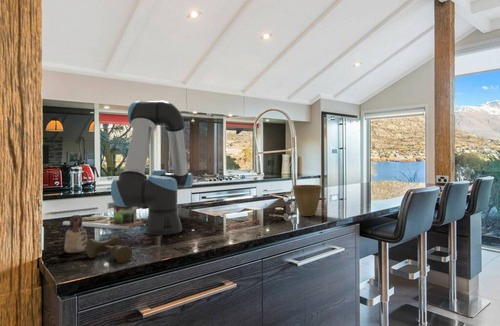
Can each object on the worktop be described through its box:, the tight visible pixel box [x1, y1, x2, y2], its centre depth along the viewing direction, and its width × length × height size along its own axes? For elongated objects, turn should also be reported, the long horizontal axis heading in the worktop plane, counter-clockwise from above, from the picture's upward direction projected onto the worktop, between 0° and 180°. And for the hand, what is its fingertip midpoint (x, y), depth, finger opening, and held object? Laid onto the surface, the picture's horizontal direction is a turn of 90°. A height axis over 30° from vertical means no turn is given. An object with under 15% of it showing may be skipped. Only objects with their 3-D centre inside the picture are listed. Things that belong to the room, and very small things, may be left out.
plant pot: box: [292, 184, 322, 217], centre depth 182 cm, size 15×15×16 cm
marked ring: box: [106, 219, 144, 228], centre depth 161 cm, size 15×15×2 cm
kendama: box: [85, 235, 133, 264], centre depth 109 cm, size 6×10×20 cm
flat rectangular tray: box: [62, 214, 148, 230], centre depth 164 cm, size 36×19×2 cm, turn 71°
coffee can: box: [113, 203, 137, 224], centre depth 161 cm, size 10×10×14 cm
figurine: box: [64, 214, 88, 254], centre depth 117 cm, size 7×7×12 cm
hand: (120, 206), depth 158 cm, fingers open, 13 cm apart
